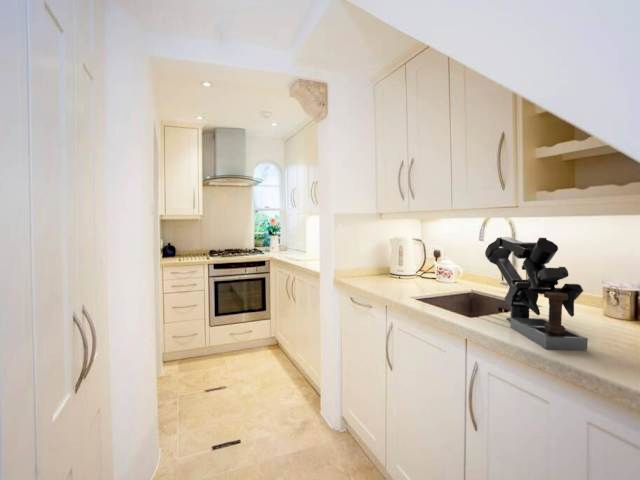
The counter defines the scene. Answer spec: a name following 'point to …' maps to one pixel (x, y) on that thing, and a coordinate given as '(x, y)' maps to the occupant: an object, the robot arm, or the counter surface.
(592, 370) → the counter surface
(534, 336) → the grey divided tray
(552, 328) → the bolt
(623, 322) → the counter surface
